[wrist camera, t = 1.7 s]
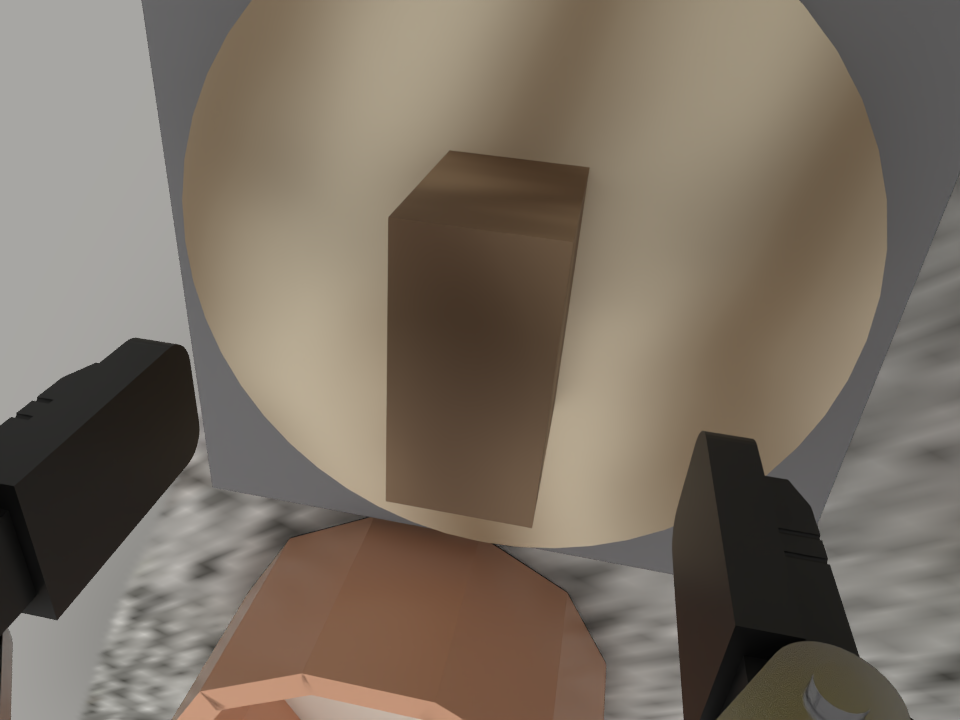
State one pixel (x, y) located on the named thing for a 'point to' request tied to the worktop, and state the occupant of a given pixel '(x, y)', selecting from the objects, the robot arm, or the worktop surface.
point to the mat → (910, 230)
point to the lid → (533, 246)
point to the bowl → (400, 636)
